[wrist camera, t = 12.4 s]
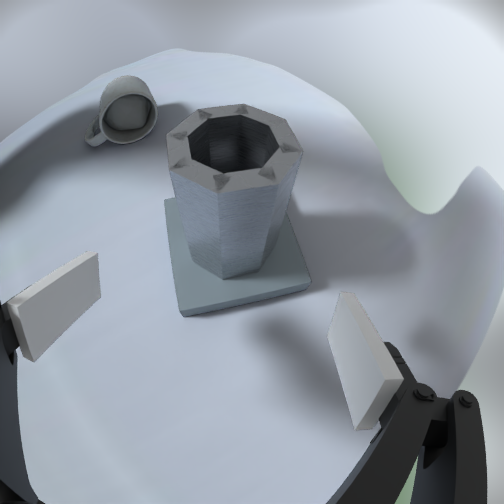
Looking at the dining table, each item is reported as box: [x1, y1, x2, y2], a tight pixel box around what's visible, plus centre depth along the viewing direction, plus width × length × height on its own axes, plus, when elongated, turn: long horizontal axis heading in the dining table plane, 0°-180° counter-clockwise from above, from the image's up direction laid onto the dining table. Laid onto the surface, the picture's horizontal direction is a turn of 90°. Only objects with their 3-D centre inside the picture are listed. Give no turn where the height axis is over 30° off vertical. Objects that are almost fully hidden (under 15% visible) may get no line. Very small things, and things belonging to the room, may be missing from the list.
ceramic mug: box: [85, 76, 158, 147], centre depth 30 cm, size 11×8×8 cm
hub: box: [166, 104, 303, 280], centre depth 19 cm, size 7×7×11 cm
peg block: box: [164, 198, 312, 317], centre depth 23 cm, size 11×11×8 cm
